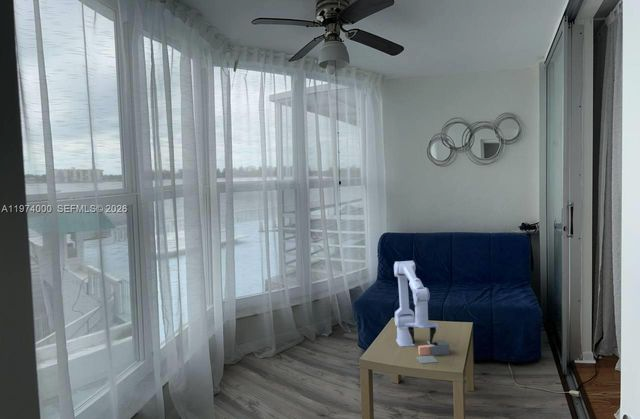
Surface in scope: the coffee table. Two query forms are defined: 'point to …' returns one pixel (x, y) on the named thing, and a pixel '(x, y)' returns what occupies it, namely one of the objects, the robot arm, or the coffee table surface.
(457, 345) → the coffee table surface
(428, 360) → the pad
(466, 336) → the coffee table surface
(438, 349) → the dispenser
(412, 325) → the robot arm
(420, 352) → the salmon pink brick
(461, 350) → the coffee table surface
